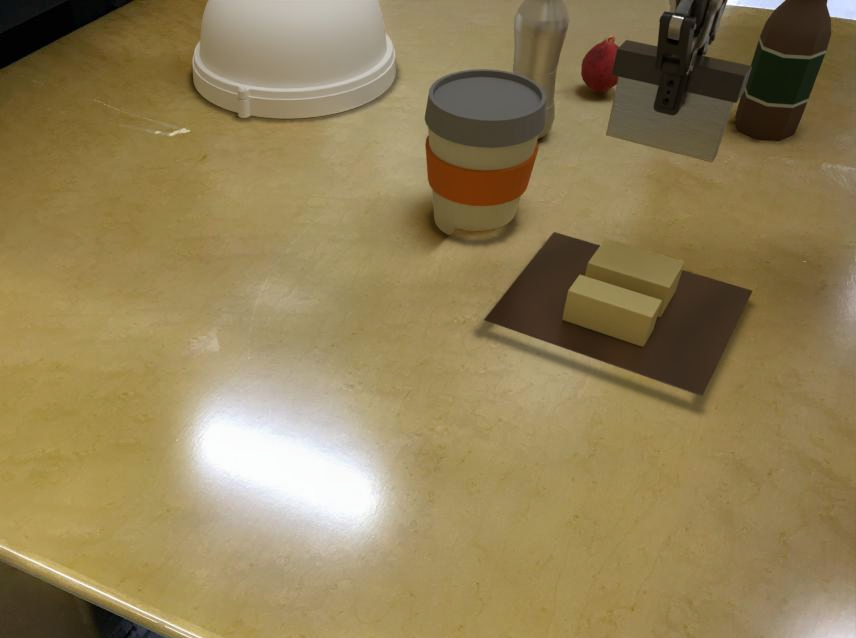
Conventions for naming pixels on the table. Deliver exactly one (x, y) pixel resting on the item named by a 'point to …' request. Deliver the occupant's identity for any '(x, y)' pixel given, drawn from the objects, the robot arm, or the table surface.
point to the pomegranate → (600, 66)
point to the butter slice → (611, 310)
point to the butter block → (636, 270)
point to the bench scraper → (700, 111)
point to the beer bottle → (784, 69)
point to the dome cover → (292, 56)
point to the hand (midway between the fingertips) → (671, 104)
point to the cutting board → (658, 359)
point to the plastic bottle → (540, 46)
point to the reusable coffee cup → (481, 146)
